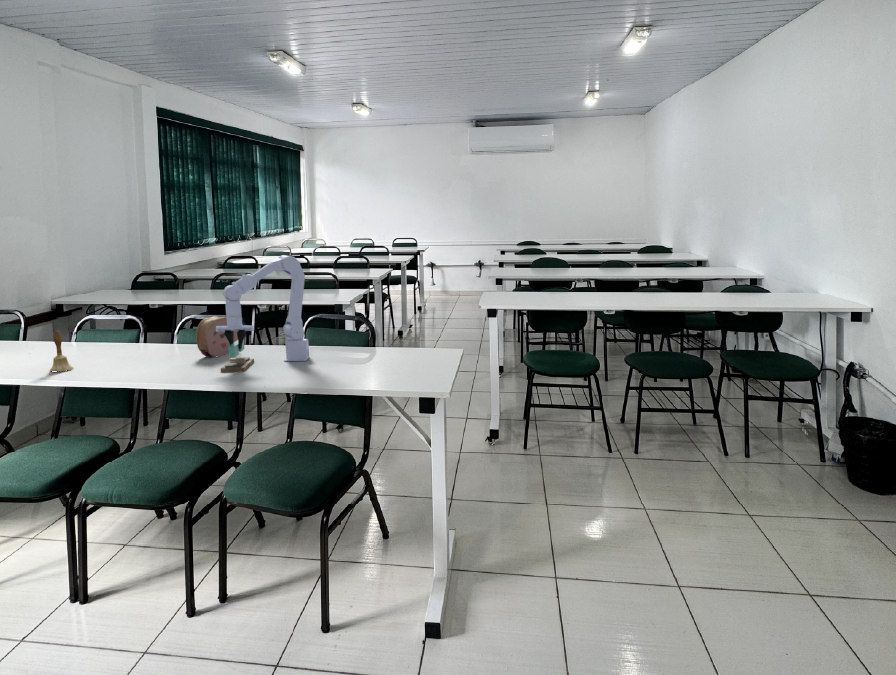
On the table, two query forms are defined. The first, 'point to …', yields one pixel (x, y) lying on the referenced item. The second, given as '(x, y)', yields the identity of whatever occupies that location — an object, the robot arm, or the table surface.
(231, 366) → the display stand
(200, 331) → the face sculpture
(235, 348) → the mint green bar
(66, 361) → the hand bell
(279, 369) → the table surface
